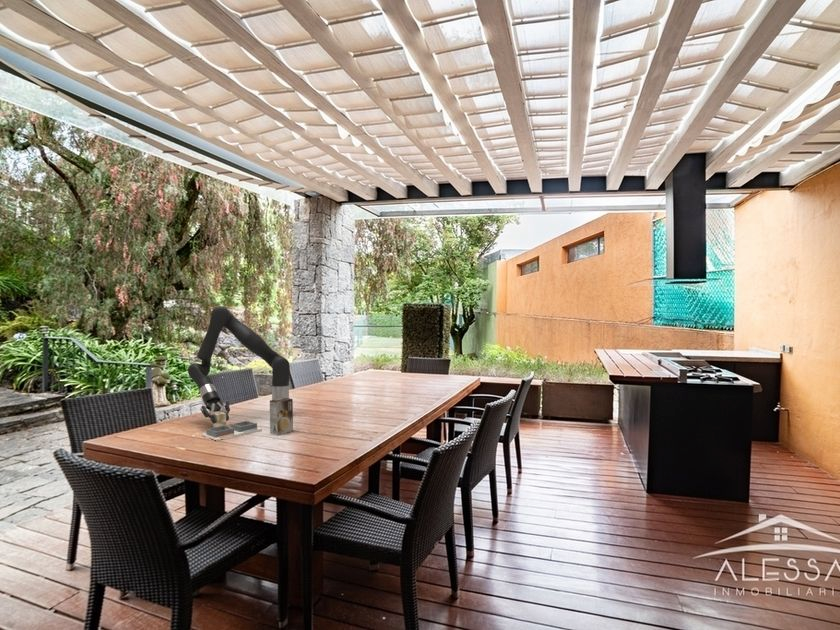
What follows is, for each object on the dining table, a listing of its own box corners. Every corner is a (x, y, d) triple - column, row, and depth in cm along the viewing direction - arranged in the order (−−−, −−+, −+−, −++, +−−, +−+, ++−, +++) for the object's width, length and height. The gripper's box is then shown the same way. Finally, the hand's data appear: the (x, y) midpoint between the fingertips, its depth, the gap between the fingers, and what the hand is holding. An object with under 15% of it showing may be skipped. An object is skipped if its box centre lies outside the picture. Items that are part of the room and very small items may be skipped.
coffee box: (285, 429, 226) (285, 397, 226) (293, 431, 222) (293, 398, 222) (269, 433, 218) (269, 400, 218) (277, 435, 215) (277, 401, 214)
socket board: (246, 426, 232) (246, 419, 232) (261, 430, 223) (261, 423, 223) (201, 436, 214) (201, 428, 214) (216, 441, 205) (216, 433, 205)
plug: (221, 427, 229) (221, 412, 229) (226, 429, 226) (226, 413, 226) (213, 429, 225) (213, 413, 225) (217, 431, 223) (217, 414, 222)
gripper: (197, 392, 225) (209, 419, 217) (225, 388, 236) (237, 414, 228) (192, 401, 228) (204, 428, 221) (220, 397, 239) (232, 423, 232)
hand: (221, 421), depth 225 cm, fingers open, 5 cm apart
